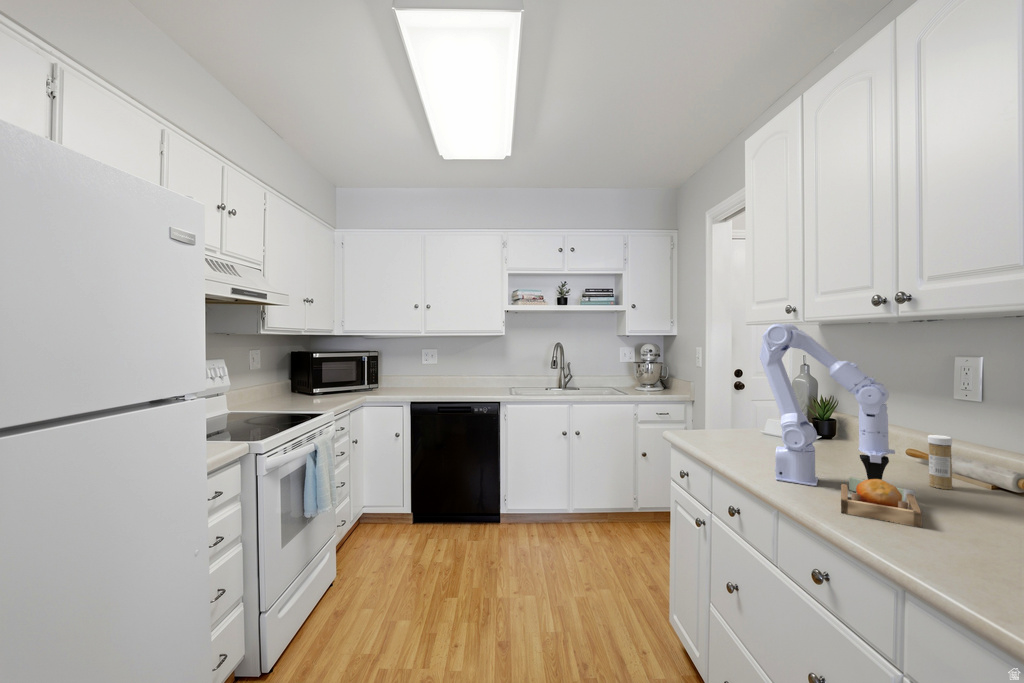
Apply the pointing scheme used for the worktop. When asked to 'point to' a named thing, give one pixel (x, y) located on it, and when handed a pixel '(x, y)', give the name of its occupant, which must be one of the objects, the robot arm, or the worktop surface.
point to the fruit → (878, 492)
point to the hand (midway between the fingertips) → (874, 484)
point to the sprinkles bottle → (940, 461)
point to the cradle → (882, 509)
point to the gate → (855, 481)
